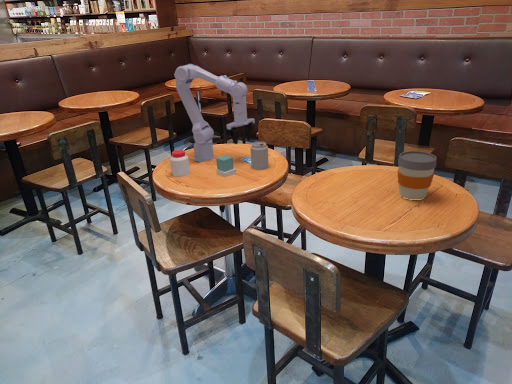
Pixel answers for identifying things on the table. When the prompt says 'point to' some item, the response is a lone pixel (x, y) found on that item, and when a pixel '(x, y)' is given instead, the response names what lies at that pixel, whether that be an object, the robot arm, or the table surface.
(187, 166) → the pill bottle
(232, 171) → the top tile
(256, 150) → the can
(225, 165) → the cube
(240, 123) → the robot arm
